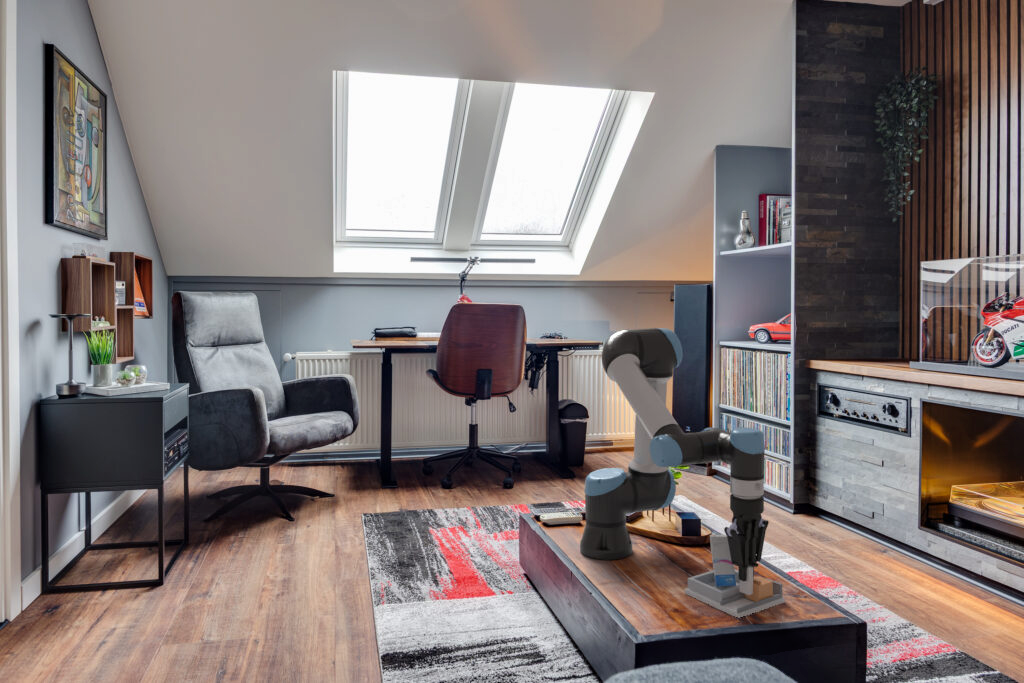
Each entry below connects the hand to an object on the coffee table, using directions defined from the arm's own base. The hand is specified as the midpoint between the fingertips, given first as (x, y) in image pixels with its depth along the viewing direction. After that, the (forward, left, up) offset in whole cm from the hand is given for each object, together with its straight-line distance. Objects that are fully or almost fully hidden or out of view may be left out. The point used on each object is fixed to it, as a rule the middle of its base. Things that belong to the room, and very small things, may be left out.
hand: (746, 592), depth 170 cm
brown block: (0, +4, -2) cm, 4 cm away
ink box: (-8, +2, -1) cm, 8 cm away
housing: (-5, +2, -4) cm, 6 cm away
